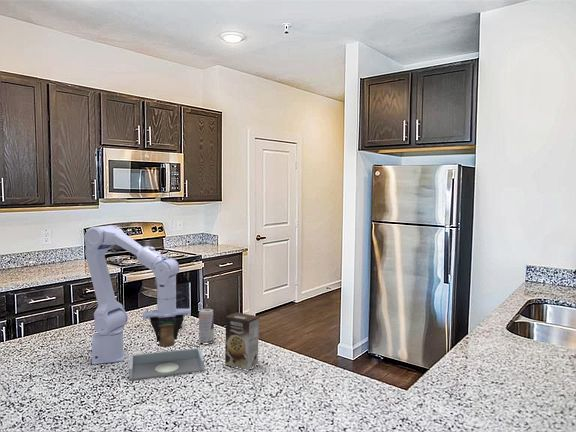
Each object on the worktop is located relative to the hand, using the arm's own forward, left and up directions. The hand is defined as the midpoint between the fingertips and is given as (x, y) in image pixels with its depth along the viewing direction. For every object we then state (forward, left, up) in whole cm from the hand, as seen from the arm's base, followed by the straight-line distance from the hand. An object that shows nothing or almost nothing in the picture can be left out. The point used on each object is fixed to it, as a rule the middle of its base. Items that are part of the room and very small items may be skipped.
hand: (166, 339), depth 132 cm
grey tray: (0, -3, -9) cm, 9 cm away
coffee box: (+23, -7, -9) cm, 25 cm away
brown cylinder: (0, 0, -2) cm, 2 cm away
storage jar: (+3, +37, -9) cm, 39 cm away
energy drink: (+15, +17, -9) cm, 25 cm away
